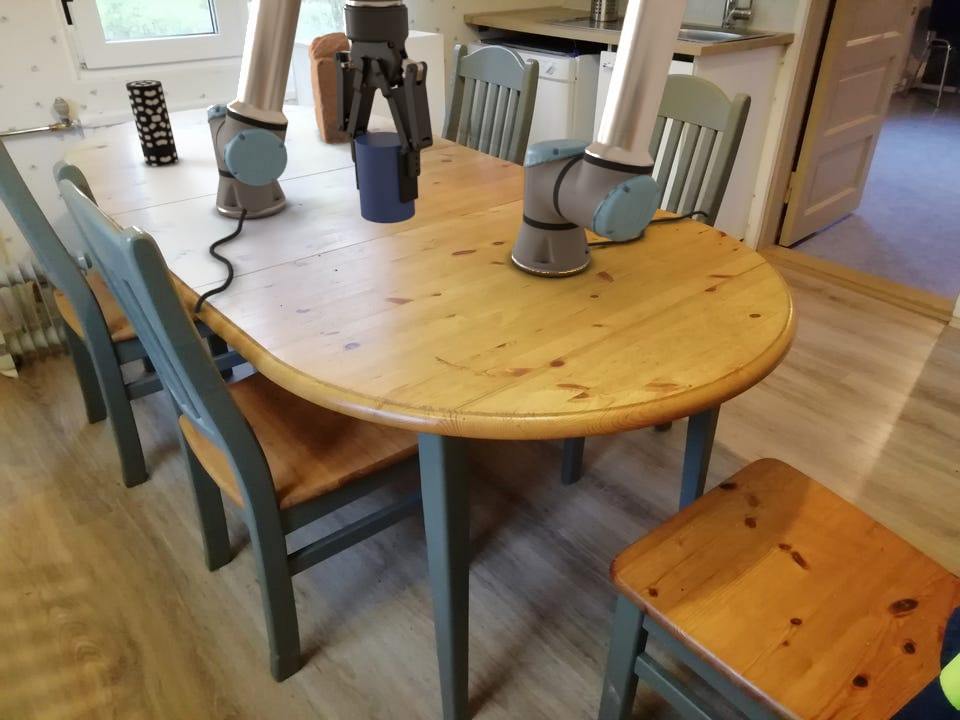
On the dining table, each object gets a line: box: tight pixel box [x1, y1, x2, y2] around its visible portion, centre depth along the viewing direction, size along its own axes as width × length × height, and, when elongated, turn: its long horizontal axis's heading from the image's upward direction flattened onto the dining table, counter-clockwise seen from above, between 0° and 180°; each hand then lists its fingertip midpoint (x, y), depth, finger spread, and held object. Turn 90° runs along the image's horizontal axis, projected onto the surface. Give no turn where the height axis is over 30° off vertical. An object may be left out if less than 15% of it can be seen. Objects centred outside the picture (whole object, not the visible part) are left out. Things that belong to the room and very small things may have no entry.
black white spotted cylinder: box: [125, 79, 179, 167], centre depth 181 cm, size 8×8×20 cm
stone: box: [308, 31, 351, 145], centre depth 203 cm, size 22×11×28 cm, turn 18°
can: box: [355, 131, 416, 224], centre depth 91 cm, size 7×7×10 cm
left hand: (24, 26), depth 114 cm, fingers open, 13 cm apart
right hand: (387, 193), depth 92 cm, fingers closed on can, 7 cm apart
